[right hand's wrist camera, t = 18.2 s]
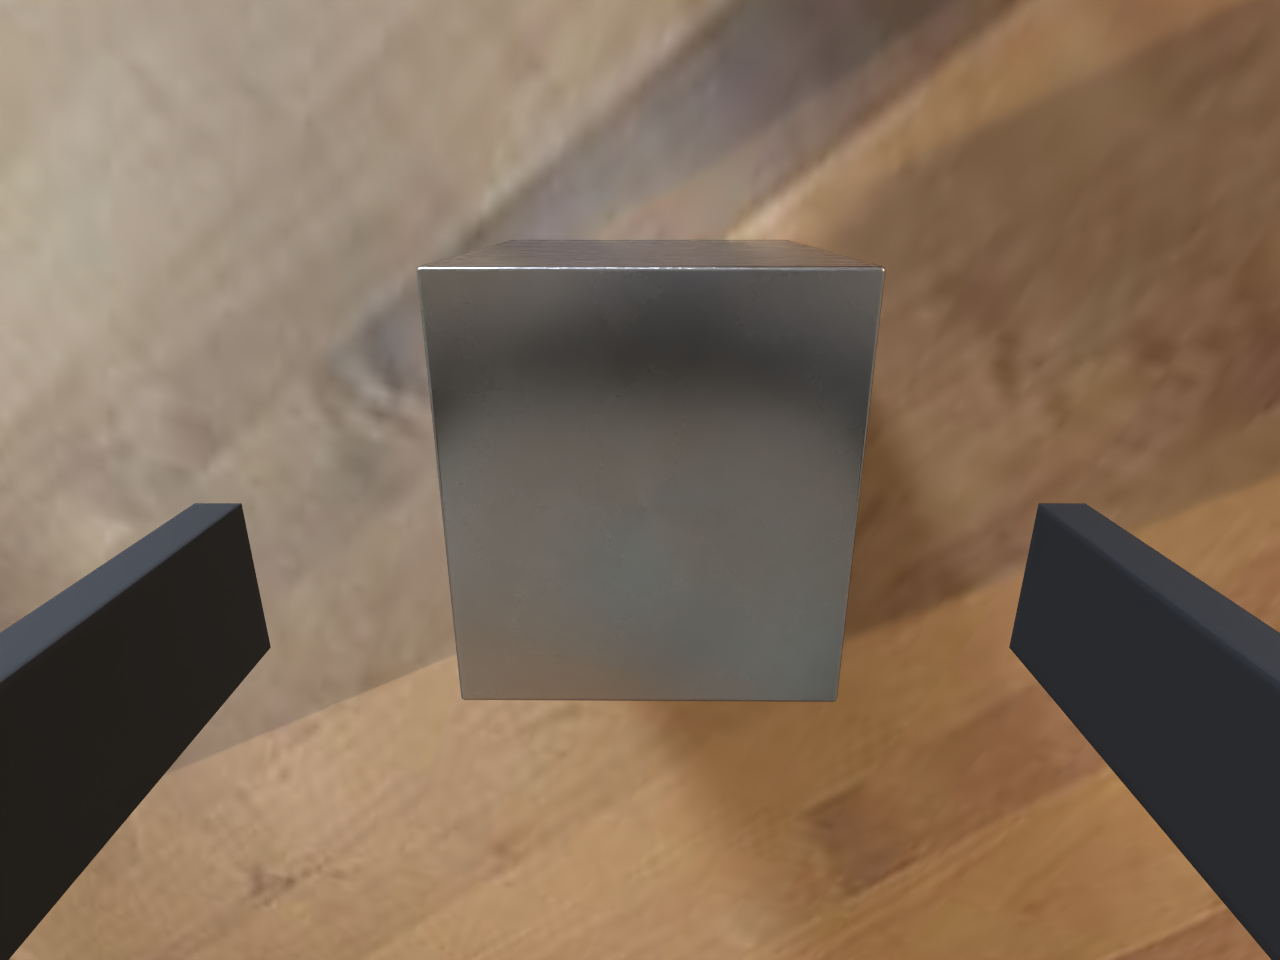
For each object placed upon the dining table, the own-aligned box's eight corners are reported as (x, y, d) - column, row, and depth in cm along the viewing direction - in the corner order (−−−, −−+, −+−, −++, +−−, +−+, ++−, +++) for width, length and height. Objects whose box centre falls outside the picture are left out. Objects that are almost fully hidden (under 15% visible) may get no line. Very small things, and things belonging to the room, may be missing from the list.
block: (526, 524, 25) (460, 701, 16) (509, 239, 22) (414, 266, 13) (770, 525, 25) (837, 703, 16) (789, 240, 22) (886, 266, 13)
